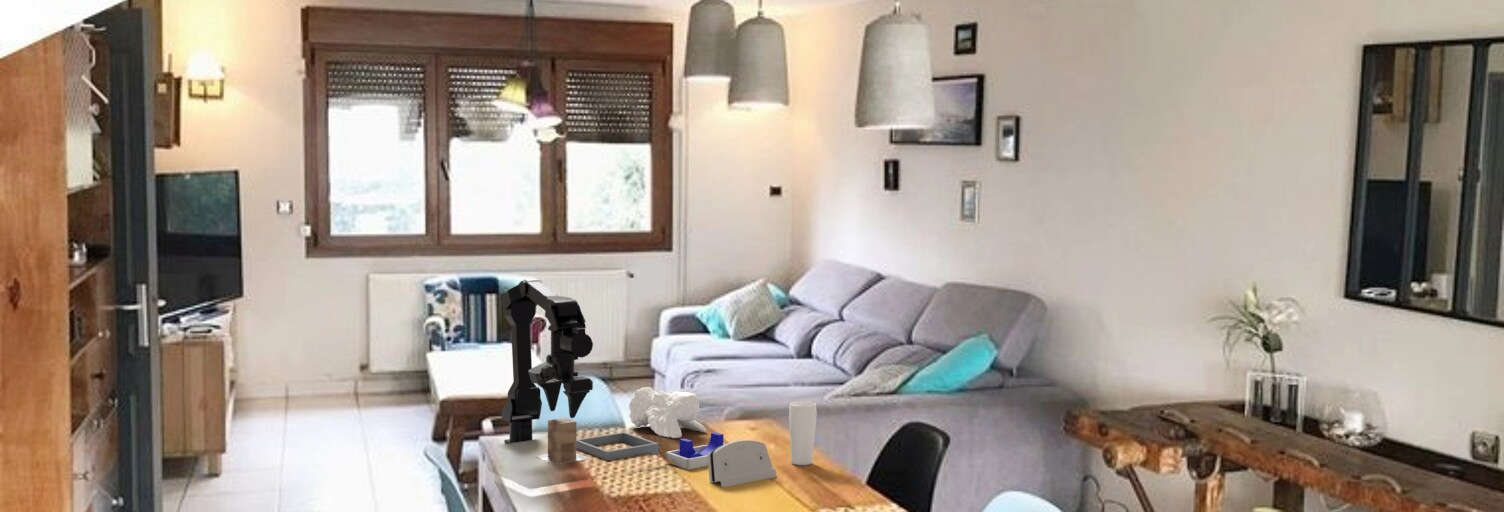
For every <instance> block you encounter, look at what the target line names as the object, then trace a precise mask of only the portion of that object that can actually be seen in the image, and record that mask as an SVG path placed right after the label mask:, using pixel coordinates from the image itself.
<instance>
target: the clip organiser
mask: <svg viewBox="0 0 1504 512" xmlns="http://www.w3.org/2000/svg"><path fill="white" fill-rule="evenodd" d="M724 444H725V443H724V442H723V445H724ZM707 446H708V444H704V445H699V446H698V445H697V446H693V448H694V450H695V452H697V453H700V452H702V451H703V450H704V449H705V448H706V447H707ZM679 454H680V449H675V450H669V451H665V459H666V460H669V461H672V463H670V464H671V465H672V466H673V465H674V466H676V467H679V468H682V469H684V470H687V471H688V470H689V471H690V470H693V469H700V468H704V467H709V466H708V455H706V456H701V457H695V458H689V459H688V458H685V457H682V456H679Z"/></svg>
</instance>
